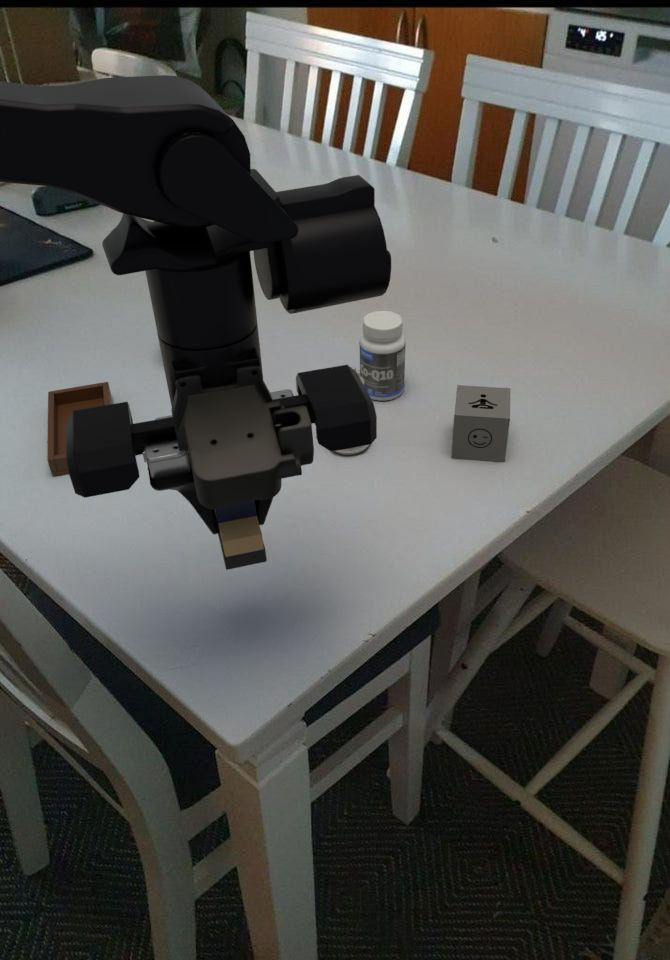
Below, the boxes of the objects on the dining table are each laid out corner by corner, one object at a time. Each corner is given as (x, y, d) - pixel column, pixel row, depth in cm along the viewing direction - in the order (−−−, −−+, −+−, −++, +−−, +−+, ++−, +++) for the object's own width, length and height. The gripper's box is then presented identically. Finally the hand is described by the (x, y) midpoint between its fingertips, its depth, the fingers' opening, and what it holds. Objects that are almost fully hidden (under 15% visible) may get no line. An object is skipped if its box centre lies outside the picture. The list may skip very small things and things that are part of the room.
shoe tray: (52, 476, 77) (47, 460, 76) (52, 407, 86) (48, 391, 85) (118, 464, 78) (114, 447, 77) (111, 397, 87) (107, 381, 86)
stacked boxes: (213, 513, 59) (206, 470, 56) (251, 505, 59) (245, 463, 57) (226, 570, 54) (218, 526, 52) (267, 561, 55) (261, 518, 52)
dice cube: (451, 457, 77) (454, 414, 74) (454, 427, 81) (457, 384, 78) (504, 462, 76) (510, 418, 73) (505, 430, 80) (510, 388, 77)
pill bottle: (353, 397, 86) (351, 326, 80) (369, 374, 89) (368, 305, 84) (396, 405, 84) (397, 334, 79) (410, 382, 87) (412, 312, 82)
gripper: (35, 434, 39) (105, 644, 48) (408, 370, 42) (402, 579, 52) (39, 325, 47) (98, 523, 57) (350, 279, 50) (354, 474, 60)
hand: (237, 525), depth 56 cm, fingers closed on stacked boxes, 3 cm apart
